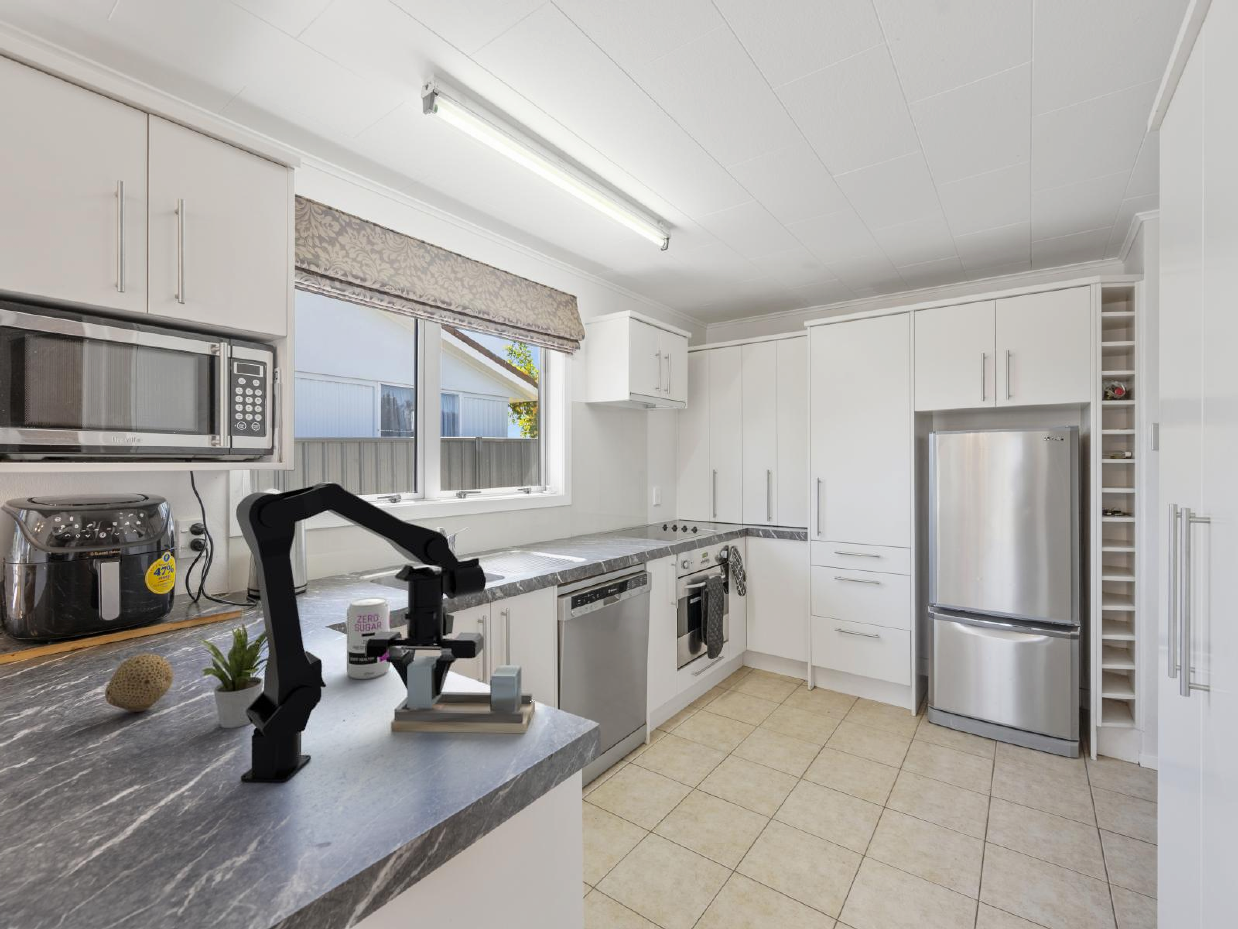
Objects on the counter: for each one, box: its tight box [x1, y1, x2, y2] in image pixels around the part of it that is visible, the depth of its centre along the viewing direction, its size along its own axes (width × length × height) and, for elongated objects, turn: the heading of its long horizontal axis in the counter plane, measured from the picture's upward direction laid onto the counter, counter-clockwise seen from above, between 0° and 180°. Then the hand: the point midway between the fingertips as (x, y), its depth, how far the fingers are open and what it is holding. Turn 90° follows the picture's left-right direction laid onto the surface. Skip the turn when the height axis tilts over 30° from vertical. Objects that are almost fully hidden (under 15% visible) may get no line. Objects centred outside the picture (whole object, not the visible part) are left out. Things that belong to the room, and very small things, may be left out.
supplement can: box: [346, 597, 391, 680], centre depth 120 cm, size 8×8×15 cm
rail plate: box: [390, 664, 536, 734], centre depth 98 cm, size 9×22×8 cm, turn 88°
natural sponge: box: [104, 653, 174, 713], centre depth 101 cm, size 9×9×10 cm
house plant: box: [195, 622, 268, 729], centre depth 97 cm, size 14×14×16 cm
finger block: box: [406, 655, 441, 708], centre depth 98 cm, size 5×4×7 cm
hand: (425, 694), depth 98 cm, fingers closed on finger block, 4 cm apart
